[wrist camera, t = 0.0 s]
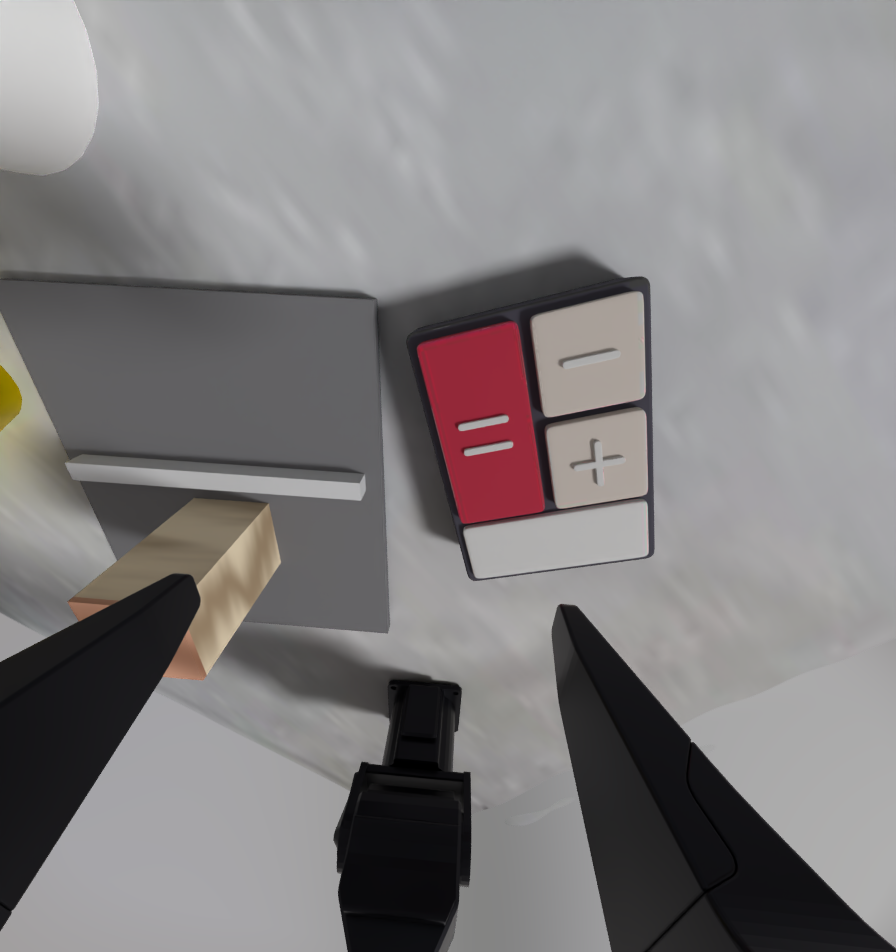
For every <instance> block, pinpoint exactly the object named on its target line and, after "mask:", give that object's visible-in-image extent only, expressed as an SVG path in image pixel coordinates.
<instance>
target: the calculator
mask: <svg viewBox="0 0 896 952" xmlns="http://www.w3.org/2000/svg"><path fill="white" fill-rule="evenodd" d="M407 348H408V351H409V355H410V359H411V363H412V367H413V370H414V374H415V378H416V382H417V385H418V389H419V393H420V397H421V401H422V404H423V408H424V412H425V416H426V419H427V423H428V427H429V431H430V435H431V438H432V442H433V446H434V450H435V453H436V457H437V461H438V465H439V469H440V472H441V476H442V480H443V484H444V487H445V491H446V495H447V499H448V503H449V506H450V510H451V514H452V518H453V521H454V525H455V529H456V533H457V537H458V540H459V544H460V548H461V552H462V555H463V559H464V563H465V567H466V571H467V574H468V577H469V578H470V579H471V580H473V581H479V580H487V579H495V578H502V577H510V576H517V575H525V574H532V573H540V572H548V571H555V570H563V569H570V568H578V567H585V566H593V565H601V564H608V563H616V562H623V561H631V560H638V559H645V558H649V557H651V556H652V555H653V554H654V489H653V428H652V367H651V306H650V283H649V281H648V279H646V278H645V277H628V278H620V279H615V280H611V281H607V282H602V283H598V284H594V285H590V286H586V287H582V288H578V289H574V290H570V291H566V292H562V293H558V294H554V295H550V296H546V297H542V298H538V299H534V300H530V301H526V302H522V303H518V304H514V305H510V306H506V307H502V308H498V309H494V310H490V311H486V312H482V313H478V314H473V315H469V316H465V317H461V318H457V319H453V320H449V321H445V322H441V323H437V324H433V325H429V326H425V327H422V328H419V329H417V330H416V331H414V332H412V333H411V334H410V335H409V336H408V338H407Z"/></svg>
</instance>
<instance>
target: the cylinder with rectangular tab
mask: <svg viewBox="0 0 896 952" xmlns="http://www.w3.org/2000/svg"><path fill="white" fill-rule="evenodd" d="M98 108H99V100H98V82H97V70H96V66H95V62H94V58H93V54H92V49H91V45H90V41H89V37H88V33H87V30H86V28H85V26H84V23H83V21H82V18H81V16H80V14H79V11H78V9H77V7H76V4H75V2H74V0H0V170H5V171H10V172H15V173H21V174H30V175H39V176H46V175H49V174H53V173H57V172H61V171H65V170H66V169H67V168H69V167H70V166H71V165H72V164H74V163H75V162H76V161H77V160H79V159H80V158H81V157H82V156H83V154H84V152H85V150H86V148H87V146H88V145H89V143H90V141H91V139H92V137H93V135H94V130H95V125H96V119H97V114H98Z"/></svg>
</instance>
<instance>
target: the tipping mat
mask: <svg viewBox="0 0 896 952" xmlns="http://www.w3.org/2000/svg"><path fill="white" fill-rule="evenodd" d="M0 311H1V314H2V316H3V318H4V320H5V322H6V324H7V326H8V329H9V331H10V333H11V335H12V337H13V339H14V341H15V343H16V346H17V348H18V350H19V352H20V354H21V356H22V358H23V361H24V363H25V365H26V367H27V369H28V371H29V373H30V375H31V378H32V380H33V382H34V384H35V386H36V388H37V390H38V393H39V395H40V397H41V399H42V401H43V403H44V405H45V407H46V410H47V412H48V414H49V416H50V418H51V420H52V422H53V425H54V427H55V429H56V431H57V433H58V435H59V437H60V440H61V442H62V444H63V446H64V448H65V450H66V452H67V454H68V457H69V459H70V460H69V461H67V462H65V465H66V467H67V469H68V471H69V473H70V475H71V477H72V480H80V482H81V484H82V486H83V489H84V491H85V493H86V495H87V497H88V499H89V501H90V504H91V506H92V508H93V510H94V512H95V514H96V516H97V518H98V521H99V523H100V525H101V527H102V529H103V531H104V533H105V536H106V538H107V540H108V542H109V544H110V546H111V548H112V550H113V553H114V555H115V557H116V559H117V561H118V560H119V559H120V558H121V557H123V556H124V555H125V554H126V553H128V552H129V551H130V550H131V549H132V548H134V547H135V546H136V545H137V544H139V543H140V542H141V541H142V540H143V539H145V538H146V537H147V536H148V535H150V534H151V533H152V532H153V531H154V530H156V529H157V528H158V527H159V526H161V525H162V524H163V523H164V522H165V521H167V520H168V519H169V518H170V517H172V516H173V515H174V514H175V513H176V512H178V511H179V510H180V509H181V508H182V507H184V506H185V505H186V504H187V503H189V502H190V501H191V500H192V499H193V498H202V499H215V500H229V501H243V502H257V503H269V507H270V512H271V517H272V521H273V526H274V531H275V536H276V541H277V545H278V550H279V555H280V560H281V563H280V565H279V566H278V568H277V569H276V571H275V572H274V574H273V575H272V577H271V578H270V580H269V582H268V583H267V585H266V586H265V588H264V589H263V591H262V592H261V594H260V595H259V597H258V598H257V600H256V601H255V603H254V604H253V606H252V607H251V609H250V610H249V612H248V613H247V615H246V616H245V618H244V619H243V621H245V622H257V623H269V624H281V625H293V626H305V627H317V628H329V629H341V630H353V631H365V632H377V633H388V631H389V627H390V617H389V591H388V566H387V541H386V515H385V490H384V465H383V439H382V414H381V389H380V363H379V338H378V313H377V299H371V298H352V297H333V296H315V295H296V294H277V293H259V292H240V291H221V290H202V289H184V288H165V287H146V286H128V285H109V284H90V283H72V282H53V281H34V280H16V279H0Z"/></svg>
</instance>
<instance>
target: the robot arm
mask: <svg viewBox="0 0 896 952" xmlns="http://www.w3.org/2000/svg"><path fill="white" fill-rule="evenodd" d="M200 603H201V597H200V594H199V591H198V589H197V586H196V583H195V580H194V578H193V576H191V575H190V574H181V573H173V574H170V575H168V576H166V577H164V578H162V579H160V580H159V581H157V582H155V583H153V584H151V585H149V586H147V587H145V588H143V589H141V590H139V591H137V592H135V593H133V594H131V595H129V596H127V597H126V598H124V599H122V600H120V601H118V602H116V603H114V604H112V605H110V606H108V607H106V608H104V609H102V610H100V611H98V612H96V613H94V614H92V615H91V616H89V617H87V618H85V619H83V620H81V621H79V622H77V623H75V624H73V625H71V626H69V627H67V628H65V629H63V630H61V631H59V632H57V633H56V634H54V635H52V636H50V637H48V638H46V639H44V640H42V641H40V642H38V643H36V644H34V645H32V646H31V647H28V648H26V649H24V650H23V651H21V652H19V653H17V654H15V655H13V656H11V657H9V658H7V659H5V660H3V661H2V662H0V931H1V929H2V928H3V926H4V925H5V923H6V921H7V920H8V918H9V917H10V915H11V913H12V912H11V911H12V910H13V909H14V908H15V907H16V905H17V904H18V902H19V901H20V899H21V898H22V896H23V894H24V893H25V891H26V890H27V888H28V886H29V885H30V883H31V882H32V880H33V879H34V877H35V876H36V874H37V872H38V871H39V869H40V868H41V866H42V864H43V863H44V862H45V860H46V858H47V857H48V855H49V854H50V852H51V850H52V849H53V847H54V846H55V844H56V843H57V841H58V840H59V838H60V836H61V835H62V833H63V832H64V830H65V829H66V827H67V825H68V824H69V822H70V821H71V819H72V818H73V816H74V815H75V813H76V811H77V810H78V808H79V807H80V805H81V804H82V802H83V800H84V799H85V797H86V796H87V794H88V793H89V791H90V789H91V788H92V786H93V785H94V783H95V782H96V780H97V779H98V776H99V775H100V774H101V772H102V771H103V769H104V768H105V766H106V764H107V763H108V761H109V760H110V758H111V757H112V755H113V754H114V752H115V750H116V749H117V747H118V746H119V744H120V743H121V741H122V739H123V738H124V736H125V735H126V733H127V732H128V730H129V728H130V727H131V725H132V723H133V722H134V721H135V719H136V717H137V716H138V714H139V713H140V711H141V710H142V708H143V706H144V705H145V703H146V702H147V700H148V699H149V697H150V696H151V694H152V692H153V691H154V689H155V688H156V686H157V685H158V683H159V682H160V680H161V678H162V677H163V675H164V674H165V672H166V670H167V669H168V667H169V665H170V663H171V661H172V660H173V658H174V656H175V654H176V652H177V650H178V648H179V646H180V644H181V642H182V640H183V639H184V637H185V635H186V633H187V631H188V629H189V627H190V625H191V623H192V621H193V619H194V617H195V615H196V613H197V611H198V609H199V607H200ZM552 643H553V653H554V663H555V673H556V682H557V692H558V700H559V706H560V711H561V716H562V721H563V726H564V730H565V735H566V740H567V744H568V749H569V754H570V758H571V763H572V768H573V772H574V777H575V782H576V786H577V791H578V796H579V801H580V805H581V810H582V814H583V819H584V824H585V828H586V833H587V838H588V842H589V847H590V852H591V856H592V861H593V866H594V871H595V875H596V880H597V885H598V889H599V894H600V899H601V903H602V908H603V913H604V917H605V922H606V927H607V931H608V936H609V941H610V945H611V950H612V952H896V948H895V947H894V946H892V945H891V944H890V943H888V942H887V941H886V940H885V939H884V938H883V937H881V936H880V935H879V934H878V933H877V932H876V931H875V930H874V929H872V928H871V927H870V926H869V925H868V924H867V923H866V922H864V920H862V918H860V917H859V916H858V915H857V914H856V913H855V912H854V911H853V910H852V909H851V908H850V907H849V906H848V905H847V904H846V903H845V902H844V901H843V900H842V899H841V898H840V897H839V896H838V895H837V894H836V893H835V892H834V891H833V890H832V888H830V886H828V885H827V883H826V882H824V880H823V879H822V878H821V877H820V876H819V875H818V874H817V873H816V872H815V871H814V870H813V869H812V868H811V867H810V866H809V865H808V864H807V863H806V862H805V861H804V860H803V859H802V858H801V857H800V856H799V855H798V854H797V853H796V852H795V851H794V850H793V849H792V848H791V847H790V846H789V845H788V844H787V843H786V842H785V841H784V840H783V839H782V838H781V837H780V836H779V834H778V833H777V832H776V831H775V830H774V829H773V828H772V827H771V826H770V825H769V824H768V823H767V822H766V821H765V820H764V819H763V818H762V817H761V816H760V815H759V814H758V813H757V812H756V811H755V810H754V809H753V807H752V806H751V805H750V804H748V802H747V801H746V800H745V799H744V798H743V797H742V796H741V795H740V794H739V793H738V792H737V791H736V790H735V788H734V787H733V786H732V785H731V784H730V783H729V782H728V781H727V780H726V778H725V777H724V776H723V775H722V774H721V773H720V772H719V770H718V769H717V768H716V767H715V766H714V765H713V764H712V763H711V762H710V761H709V759H708V758H707V757H706V756H705V755H704V753H703V752H702V751H701V750H700V749H699V748H698V746H697V745H696V744H695V743H694V742H691V739H690V737H689V736H688V735H687V734H686V733H685V731H684V730H683V729H682V728H681V727H680V726H679V724H678V723H677V722H676V721H675V720H674V719H673V717H672V716H671V715H670V714H669V713H668V712H667V710H666V709H665V708H664V707H663V706H662V705H661V703H660V702H659V701H658V700H657V699H656V698H655V696H654V695H653V694H652V693H651V692H650V691H649V689H648V688H647V687H646V686H645V685H644V684H643V682H642V681H641V680H640V679H639V678H638V677H637V675H636V674H635V673H634V672H633V671H632V670H631V668H630V667H629V666H628V665H627V664H626V663H625V661H624V660H623V659H622V658H621V657H620V656H619V654H618V653H617V652H616V651H615V650H614V649H613V647H612V646H611V645H610V644H609V643H608V642H607V641H606V639H605V638H604V637H603V636H602V635H601V634H600V632H599V631H598V630H597V629H596V628H595V627H594V625H593V624H592V623H591V622H590V621H589V620H588V618H587V617H586V616H585V615H584V614H583V613H582V611H581V610H580V609H579V608H578V607H577V606H575V605H567V604H560V605H559V606H558V607H557V610H556V614H555V618H554V622H553V626H552ZM461 694H462V689H461V687H459V686H454V685H443V684H431V683H420V682H409V681H397V680H392V681H390V682H389V685H388V699H389V720H390V725H389V730H388V735H387V741H386V746H385V751H384V756H383V762H382V765H375V764H369V763H368V762H361V766H360V769H359V772H356V773H355V774H354V778H353V782H352V786H351V790H350V794H349V798H348V801H347V803H346V806H345V808H344V810H343V813H342V815H341V818H340V820H339V822H338V825H337V827H336V830H335V833H334V842H335V845H336V847H337V872H338V873H340V874H341V878H340V884H339V889H338V897H339V904H340V909H341V915H342V921H343V927H344V932H345V938H346V944H347V950H348V952H447V951H448V949H449V946H450V944H451V942H452V940H453V937H454V933H455V926H456V918H457V911H458V904H459V886H464V887H468V886H469V881H470V879H469V878H470V863H471V778H470V772H464V773H459V772H453V751H454V732H456V731H458V724H459V714H460V704H461Z"/></svg>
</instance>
